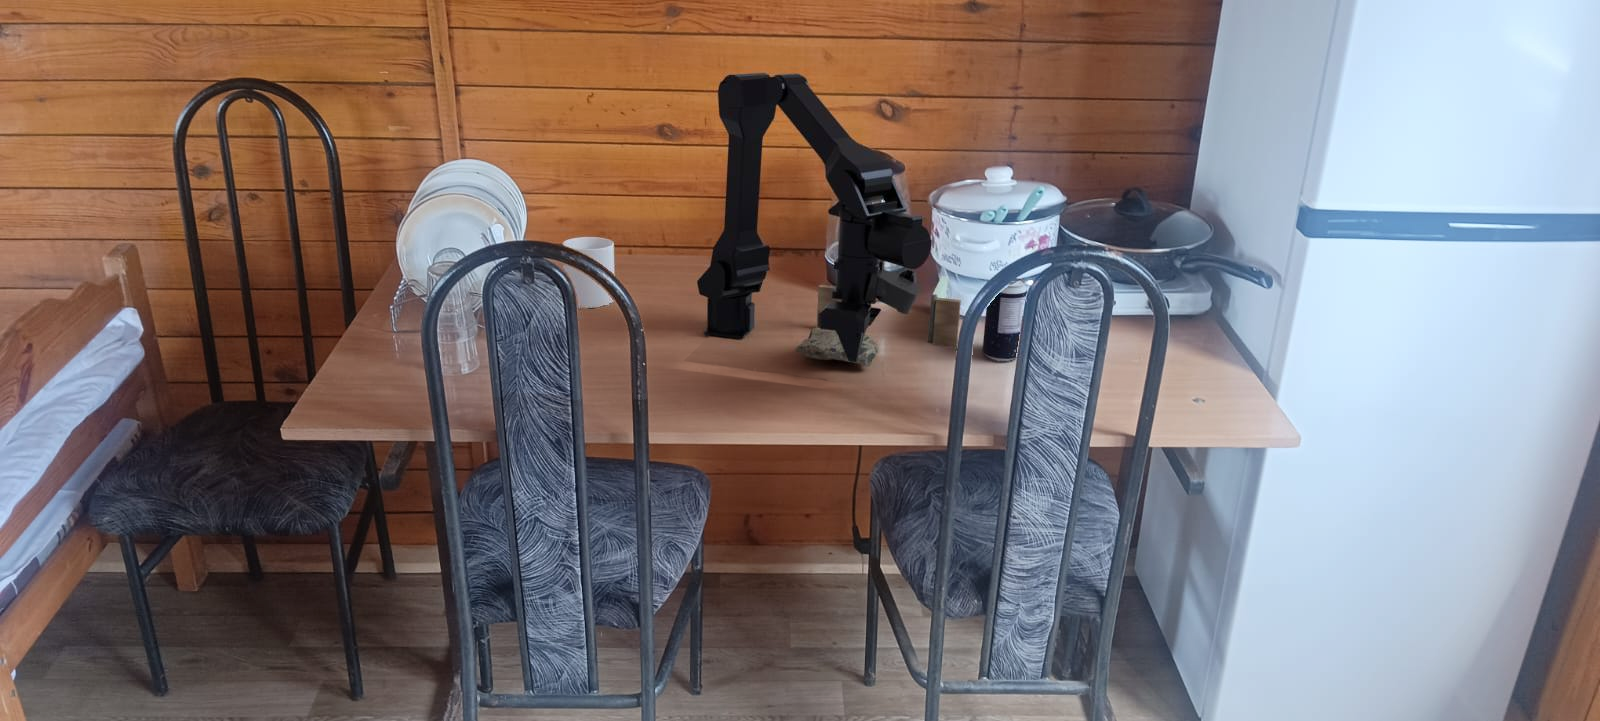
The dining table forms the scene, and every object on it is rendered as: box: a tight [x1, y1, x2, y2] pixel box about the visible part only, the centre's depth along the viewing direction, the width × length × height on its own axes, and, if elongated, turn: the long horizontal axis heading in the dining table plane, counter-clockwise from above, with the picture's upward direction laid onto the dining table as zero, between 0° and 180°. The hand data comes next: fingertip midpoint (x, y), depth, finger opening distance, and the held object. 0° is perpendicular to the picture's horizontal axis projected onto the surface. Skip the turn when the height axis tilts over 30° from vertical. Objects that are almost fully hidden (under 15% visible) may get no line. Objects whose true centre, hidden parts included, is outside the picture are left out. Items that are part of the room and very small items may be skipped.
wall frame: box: [816, 284, 962, 347], centre depth 178 cm, size 22×1×8 cm, turn 75°
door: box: [930, 275, 949, 311], centre depth 182 cm, size 12×1×7 cm, turn 166°
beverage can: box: [981, 278, 1028, 362], centre depth 171 cm, size 6×6×12 cm
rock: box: [795, 326, 879, 367], centre depth 168 cm, size 11×11×4 cm
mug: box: [561, 236, 615, 310], centre depth 191 cm, size 12×8×10 cm
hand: (852, 360), depth 161 cm, fingers closed
